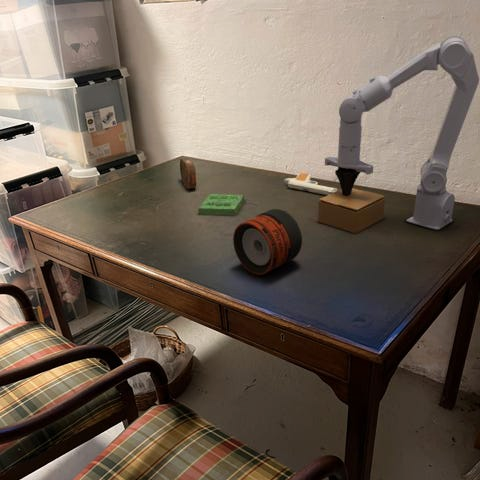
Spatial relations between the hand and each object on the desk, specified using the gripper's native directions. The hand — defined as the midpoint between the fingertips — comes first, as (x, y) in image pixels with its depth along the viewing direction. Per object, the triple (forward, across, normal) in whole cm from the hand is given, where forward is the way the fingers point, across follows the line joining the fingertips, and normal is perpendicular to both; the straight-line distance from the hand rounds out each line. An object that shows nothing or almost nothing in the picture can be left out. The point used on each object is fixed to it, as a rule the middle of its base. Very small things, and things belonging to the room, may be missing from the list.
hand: (346, 194), depth 142 cm
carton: (+6, -2, +1) cm, 7 cm away
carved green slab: (+7, +34, +17) cm, 39 cm away
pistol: (+7, +23, -14) cm, 28 cm away
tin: (+7, +59, +10) cm, 60 cm away
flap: (0, +1, +1) cm, 1 cm away
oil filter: (+7, -4, +35) cm, 36 cm away
